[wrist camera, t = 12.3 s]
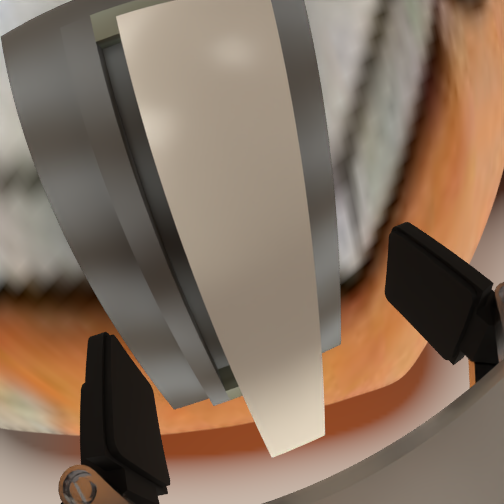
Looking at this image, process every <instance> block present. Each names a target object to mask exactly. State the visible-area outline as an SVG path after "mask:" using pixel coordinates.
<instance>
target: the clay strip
mask: <svg viewBox="0 0 504 504" xmlns="http://www.w3.org/2000/svg"><path fill="white" fill-rule="evenodd" d="M116 19H117V23H118V28H119V32H120V37H121V41H122V45H123V49H124V53H125V57H126V61H127V65H128V69H129V73H130V77H131V81H132V85H133V88H134V92H135V96H136V100H137V103H138V107H139V110H140V114H141V117H142V121H143V124H144V128H145V131H146V135H147V138H148V141H149V145H150V148H151V151H152V155H153V158H154V161H155V164H156V167H157V171H158V174H159V177H160V180H161V183H162V186H163V189H164V192H165V195H166V198H167V201H168V204H169V207H170V210H171V213H172V216H173V219H174V222H175V225H176V228H177V231H178V233H179V236H180V239H181V242H182V245H183V248H184V250H185V253H186V256H187V259H188V261H189V264H190V267H191V269H192V272H193V275H194V278H195V280H196V283H197V285H198V288H199V291H200V293H201V296H202V299H203V301H204V304H205V306H206V309H207V311H208V314H209V316H210V319H211V321H212V324H213V326H214V329H215V331H216V334H217V336H218V339H219V341H220V343H221V346H222V348H223V351H224V353H225V355H226V358H227V360H228V363H229V365H230V367H231V370H232V372H233V374H234V377H235V379H236V381H237V383H238V386H239V388H240V390H241V393H242V395H243V397H244V399H245V401H246V404H247V406H248V408H249V410H250V412H251V415H252V417H253V419H254V421H255V423H256V425H257V427H258V430H259V432H260V434H261V436H262V438H263V440H264V442H265V444H266V447H267V449H268V451H269V453H270V455H271V457H272V458H273V457H275V456H278V455H280V454H283V453H285V452H288V451H290V450H292V449H295V448H297V447H299V446H302V445H304V444H306V443H309V442H311V441H313V440H315V439H317V438H320V437H322V436H324V435H325V418H324V417H325V416H324V388H323V368H322V350H321V335H320V321H319V309H318V297H317V285H316V275H315V265H314V255H313V246H312V237H311V228H310V220H309V212H308V204H307V196H306V189H305V181H304V174H303V167H302V160H301V154H300V147H299V141H298V135H297V129H296V123H295V117H294V111H293V105H292V99H291V94H290V88H289V83H288V78H287V73H286V68H285V62H284V58H283V53H282V48H281V43H280V38H279V34H278V29H277V25H276V20H275V16H274V11H273V7H272V3H271V0H174V1H170V2H166V3H161V4H157V5H153V6H149V7H146V8H142V9H139V10H135V11H132V12H128V13H125V14H122V15H119V16H116Z"/></svg>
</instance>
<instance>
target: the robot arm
mask: <svg viewBox="0 0 504 504" xmlns="http://www.w3.org/2000/svg"><path fill="white" fill-rule="evenodd" d="M492 286H493V283H492V282H491V281H490V280H489V279H487V278H486V277H485V276H484V275H482V274H481V273H480V272H478V271H477V270H476V269H475V268H473V267H472V266H470V265H469V264H468V263H467V262H465V261H464V260H463V259H461V258H460V257H458V256H457V255H456V254H454V253H453V252H452V251H450V250H449V249H447V248H446V247H445V246H443V245H442V244H440V243H439V242H437V241H436V240H435V239H433V238H432V237H430V236H429V235H427V234H426V233H424V232H423V231H421V230H420V229H418V228H417V227H415V226H414V225H412V224H411V223H409V222H405V223H403V224H400V225H398V226H395V227H394V228H393V229H392V231H391V233H390V235H389V246H388V261H387V274H386V285H385V296H386V298H387V300H388V301H389V302H390V303H391V304H392V305H393V306H394V307H395V308H396V309H397V310H398V311H399V312H400V313H401V314H402V315H403V316H404V317H405V318H406V319H407V320H408V322H409V323H410V324H411V325H412V326H413V327H414V328H415V329H416V330H417V331H418V332H419V333H420V334H421V335H422V336H423V337H424V338H425V339H426V340H427V341H428V342H429V344H430V345H431V346H432V347H433V348H434V349H435V350H436V351H437V352H438V353H439V354H440V355H441V356H442V357H443V358H444V359H445V360H449V361H450V362H451V363H452V364H453V365H454V364H456V363H457V362H458V361H459V360H461V359H462V358H463V357H464V355H466V356H467V357H468V360H469V379H470V389H469V390H467V391H466V392H465V393H464V394H462V395H461V396H460V397H459V398H457V399H456V400H455V401H453V402H452V403H451V404H450V405H448V406H447V407H446V408H444V409H443V410H442V411H440V412H439V413H437V414H436V415H435V416H433V417H432V418H430V419H429V420H428V421H426V422H425V423H424V424H422V425H421V426H419V427H417V428H416V429H414V430H413V431H411V432H410V433H408V434H407V435H405V436H404V437H402V438H401V439H399V440H397V441H396V442H394V443H392V444H391V445H389V446H387V447H386V448H384V449H382V450H381V451H379V452H377V453H375V454H374V455H372V456H370V457H368V458H366V459H364V460H363V461H361V462H359V463H357V464H355V465H353V466H351V467H349V468H347V469H345V470H343V471H341V472H339V473H337V474H335V475H333V476H331V477H329V478H326V479H324V480H322V481H320V482H317V483H315V484H313V485H311V486H308V487H306V488H303V489H301V490H298V491H296V492H293V493H291V494H288V495H286V496H283V497H280V498H278V499H275V500H272V501H269V502H266V503H263V504H504V282H503V283H500V284H499V285H498V286H497V287H496V289H495V292H494V291H493V290H492ZM80 450H81V465H75V466H72V467H70V468H68V469H67V470H66V471H65V472H64V473H63V475H62V476H61V478H60V481H59V495H60V499H61V500H62V503H61V504H159V500H158V496H159V495H164V494H168V491H167V487H166V486H168V485H170V478H169V473H168V469H167V465H166V460H165V455H164V450H163V445H162V440H161V434H160V429H159V423H158V417H157V411H156V405H155V399H154V393H153V390H152V387H151V385H150V384H149V382H148V381H147V380H146V378H145V377H144V376H143V374H142V373H141V372H140V370H139V369H138V368H137V366H136V365H135V363H134V362H133V361H132V359H131V358H130V357H129V355H128V354H127V352H126V351H125V349H124V348H123V347H122V345H121V344H120V342H119V341H118V339H117V338H116V337H115V335H109V334H108V333H107V332H104V333H101V334H98V335H95V336H91V337H90V338H89V340H88V348H87V361H86V377H85V383H84V384H83V385H82V388H81V404H80Z"/></svg>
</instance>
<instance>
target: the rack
mask: <svg viewBox="0 0 504 504" xmlns="http://www.w3.org/2000/svg"><path fill="white" fill-rule="evenodd" d="M170 1H174V0H72V1H70V2H68V3H65V4H63V5H61V6H58V7H56V8H54V9H52V10H50V11H48V12H45V13H43V14H41V15H39V16H37V17H35V18H33V19H31V20H29V21H28V22H26V23H24V24H22V25H20V26H18V27H17V28H15V29H13V30H11V31H10V32H8V33H6V34H4V35H3V36H1V41H2V47H3V53H4V58H5V63H6V68H7V73H8V77H9V82H10V86H11V90H12V94H13V98H14V102H15V105H16V109H17V112H18V116H19V119H20V123H21V126H22V129H23V132H24V135H25V139H26V142H27V145H28V148H29V150H30V153H31V156H32V159H33V162H34V164H35V167H36V170H37V172H38V175H39V178H40V180H41V183H42V185H43V188H44V190H45V193H46V195H47V197H48V200H49V202H50V205H51V207H52V209H53V211H54V214H55V216H56V218H57V220H58V223H59V225H60V227H61V229H62V231H63V233H64V235H65V237H66V239H67V242H68V244H69V246H70V248H71V250H72V252H73V254H74V256H75V257H76V259H77V261H78V263H79V265H80V267H81V269H82V271H83V273H84V275H85V276H86V278H87V280H88V282H89V284H90V285H91V287H92V289H93V291H94V292H95V294H96V296H97V298H98V299H99V301H100V303H101V304H102V306H103V308H104V310H105V311H106V313H107V314H108V316H109V318H110V319H111V321H112V323H113V324H114V326H115V327H116V329H117V330H118V332H119V334H120V335H121V337H122V338H123V340H124V341H125V343H126V344H127V346H128V347H129V349H130V350H131V352H132V353H133V355H134V356H135V358H136V359H137V360H138V362H139V363H140V365H141V366H142V368H143V369H144V370H145V372H146V373H147V375H148V376H149V377H150V379H151V380H152V381H153V383H154V384H155V385H156V387H157V388H158V389H159V391H160V392H161V393H162V395H163V396H164V397H165V399H166V400H167V401H168V402H169V404H170V405H171V406H172V407H173V409H177V408H181V407H184V406H187V405H190V404H193V403H196V402H199V401H203V400H206V399H208V398H209V399H210V401H211V402H212V404H213V406H215V405H218V404H221V403H223V402H226V401H229V400H232V399H235V398H237V397H240V396H243V395H242V393H241V390H240V388H239V386H238V383H237V381H236V379H235V377H234V374H233V372H232V370H231V367H230V365H229V363H228V360H227V358H226V355H225V353H224V351H223V348H222V346H221V343H220V341H219V339H218V336H217V334H216V331H215V329H214V326H213V324H212V321H211V319H210V316H209V314H208V311H207V309H206V306H205V304H204V301H203V299H202V296H201V293H200V291H199V288H198V285H197V283H196V280H195V278H194V275H193V272H192V269H191V267H190V264H189V261H188V259H187V256H186V253H185V250H184V248H183V245H182V242H181V239H180V236H179V233H178V231H177V228H176V225H175V222H174V219H173V216H172V213H171V210H170V207H169V204H168V201H167V198H166V195H165V192H164V189H163V186H162V183H161V180H160V177H159V174H158V171H157V167H156V164H155V161H154V158H153V155H152V151H151V148H150V145H149V141H148V138H147V135H146V131H145V128H144V124H143V121H142V117H141V114H140V110H139V107H138V103H137V100H136V96H135V92H134V88H133V85H132V81H131V77H130V73H129V69H128V65H127V61H126V57H125V53H124V49H123V45H122V41H121V37H120V32H119V28H118V23H117V19H116V16H119V15H122V14H125V13H128V12H132V11H135V10H139V9H142V8H146V7H149V6H153V5H157V4H161V3H166V2H170ZM271 3H272V7H273V11H274V16H275V20H276V25H277V29H278V34H279V38H280V43H281V48H282V53H283V58H284V62H285V68H286V73H287V78H288V83H289V88H290V94H291V99H292V105H293V111H294V117H295V123H296V129H297V135H298V141H299V147H300V154H301V160H302V167H303V174H304V181H305V189H306V196H307V204H308V212H309V220H310V228H311V237H312V246H313V255H314V265H315V275H316V285H317V297H318V309H319V321H320V335H321V350H322V353H323V352H326V351H328V350H330V349H332V348H334V347H336V346H338V345H340V344H341V303H340V270H339V249H338V233H337V218H336V205H335V194H334V183H333V173H332V164H331V155H330V146H329V138H328V130H327V123H326V116H325V109H324V102H323V96H322V89H321V83H320V77H319V71H318V66H317V60H316V55H315V50H314V45H313V40H312V35H311V30H310V25H309V20H308V16H307V11H306V7H305V3H304V0H271Z"/></svg>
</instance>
